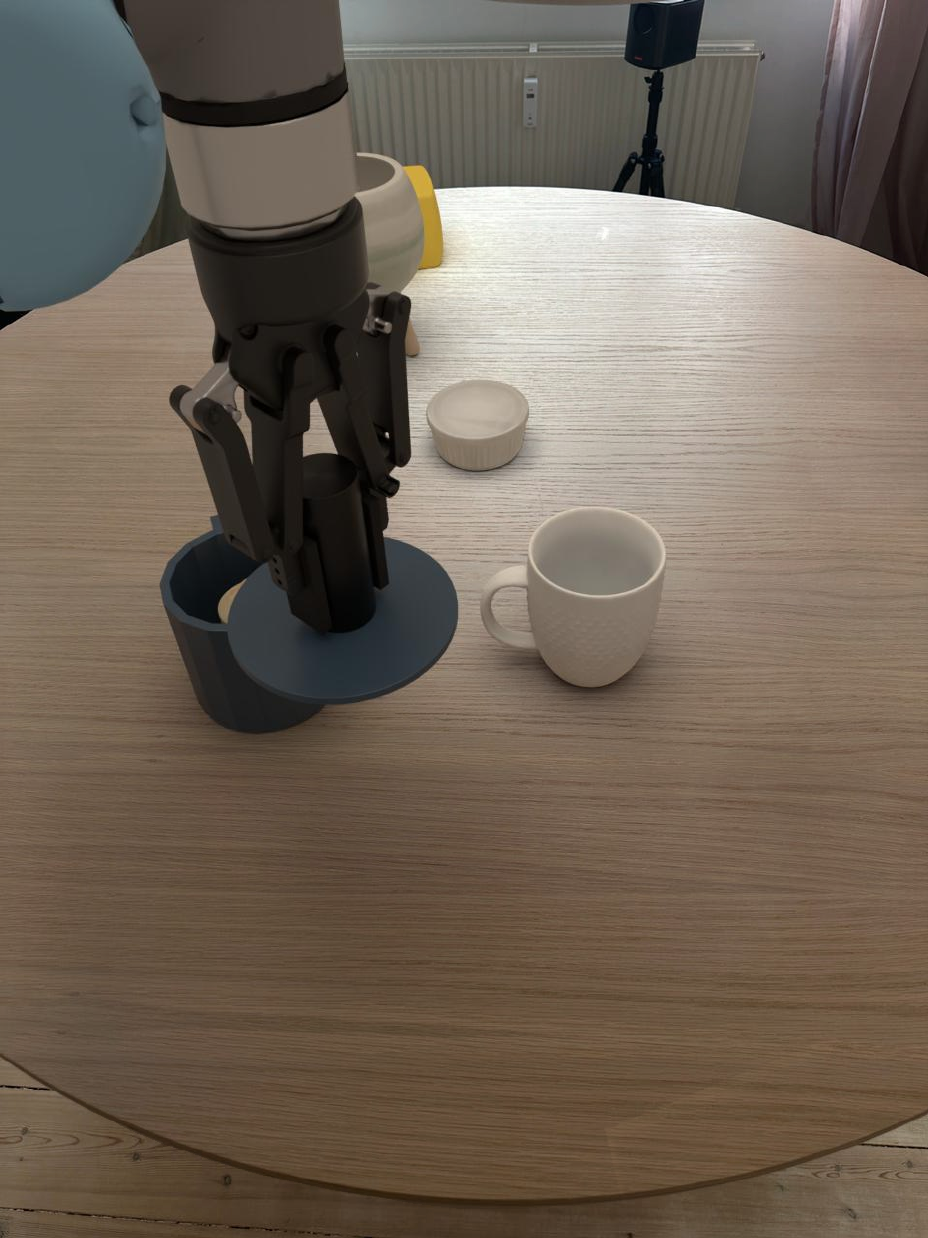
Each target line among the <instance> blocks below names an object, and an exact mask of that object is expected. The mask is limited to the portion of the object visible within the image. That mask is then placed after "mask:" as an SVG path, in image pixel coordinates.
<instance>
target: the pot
mask: <svg viewBox="0 0 928 1238" xmlns="http://www.w3.org/2000/svg"><path fill="white" fill-rule="evenodd" d="M209 521H210V523H211V527H212V529H211V530H209V531H207V532H205V533H203V534H201V535H200V536H198V537H196V538H194V539H193V540H190V541H187V543H185V544H184V545H183V546H182V547H181V548H180V549H179V550H178V551H177V552H175V554H174V555H173V556H172V557H171V558H170V559H169V560H168V561H167V563H166V566H165V568H164V570H163V572H162V573H163V574H162V576H161V579H160V581H159V589H160V595H161V600H162V605H163V607H164V611H165V614H166V615H167V618H168V619H167V620H168V621H169V625H170V627H171V630H172V632H173V636H174V639H175V642H176V644H177V646H178V649H179V652H180V655H181V658H182V661H183V664H184V666H185V669H186V671H187V674H188V678H189V680H190V683H191V686H192V688H193V691H194V694H195V697H196V701H197V703H198V704H199V705H200V706H201V709H202V710H203V711H204V713H205V714H206V715H207V716H208V717H209V718H210V719H211V720H212V721H214V722H215V723H217V724H219V726H222V727H224V728H226V729H229V730H231V731H235V732H239V733H245V734H266V733H267V734H268V733H274V732H278V731H279V732H280V731H283V730H286V729H290V728H292V727H294V726H296V725H299V724H301V723H303V722H305V721H306V720H308V719H309V718H311V717H312V716H314V715H315V714H317V713H318V712H320V711H321V709H322V708H323V707H324V706H325V705H322V704H310V703H305V702H299V701H294V700H291V699H288V698H285V697H282V696H279V695H277V694H275V693H273V692H270V691H268V690H267V689H265V688H263V687H262V686H260V685H259V684H257V683H256V682H255V681H254V680H252V679H251V678H250V677H249V676H248V675H247V674H246V673H245V672H244V671H243V669H242V668H241V667H240V666H239V664H238V662H237V661H236V659H235V657H234V655H233V652H232V649H231V646H230V643H229V639H228V632H227V624H222V623H221V620H220V617H219V613H218V605H219V602H220V600H221V598H222V597H223V595H224V594H225V593H226V592H227V591H229V590H230V589H231V588H232V587H234V586H236V585H237V584H239V583H241V582H242V581H243V580H245V579H247V578H248V577H249V576H250V575H251V574H252V573H253V572H254V571H255V570H256V569H257V568H259V567H260V566H261V565H263V564H261V563H259V562H257V561H255V560H254V559H252V558H251V557H249V556H248V555H246V554H245V553H243V552H242V551H240V550H238V549H237V548H235V547H234V546H232V545H231V544H229V543H228V542H227V540H226V538H225V535H224V532H223V528H222V525H221V522H220V519H219V516H218V514H215V515H211V516H209Z"/></svg>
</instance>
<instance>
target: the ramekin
mask: <svg viewBox="0 0 928 1238" xmlns="http://www.w3.org/2000/svg"><path fill="white" fill-rule="evenodd" d="M425 415H426V416H425V417H426V423H427V425H428V426H429V429H430V431H431V435H432V439H433V442H434V445H435V449H436V451H437V453H438V454H439V456H440V457H441V458H442V459H443V460H444V461H446V462H447V463H448V464H450V465H451V466H453V467H456V468H459V469H462V470H466V471H475V472H477V471H481V472H482V471H488V470H493V469H496V468H500V467H503V466H504V465H506V464H507V463H508V464H509V462H511V461H512V460H513V459H514V458H515V457H516V456H517V454H518V453H519V452H520V450H521V448H522V446H523V442H524V438H525V433H526V426H527V424H528V421H529V418H530V404H529V402H528V399H527V398H526V396H525V395H524V394H523V392H521V391H520V390H519V389H517V388H516V387H514V386H513V385H510V384H509V383H506V382H502V381H497V380H491V379H468V380H462V381H459V382H455V383H452V384H450V385H448V386H445V387H444V388H442V389H441V390H439V391H438V392H436V393H435V394H434V395H433V396H432V397H431V399H430V400H429V402H428V404H427V406H426V411H425Z"/></svg>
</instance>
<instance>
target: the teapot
mask: <svg viewBox="0 0 928 1238" xmlns="http://www.w3.org/2000/svg"><path fill="white" fill-rule="evenodd" d="M402 167H403V168H404V170H405V171H406V173H407V175H408V176H409V178H410V180H411V182H412V184H413V187H414V189H415V192H416V194H417V197H418V201H419V204H420V207H421V212H422V216H423V223H424V232H425V243H424V252H423V257H422V260H421V263H420V266H419V268H418V270H423V269H431V268H436V267H439V266H440V265H441V263H442V259H443V252H444V235H443V234H444V233H443V225H442V218H441V213H440V208H439V203H438V200H437V195H436V192H435V188H434V185H433V181H432V178H431V177H430V175H429V173H428V170H427V169H426V168H425V167H424V166H422V165H408V166H407V165H405V166H402Z"/></svg>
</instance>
